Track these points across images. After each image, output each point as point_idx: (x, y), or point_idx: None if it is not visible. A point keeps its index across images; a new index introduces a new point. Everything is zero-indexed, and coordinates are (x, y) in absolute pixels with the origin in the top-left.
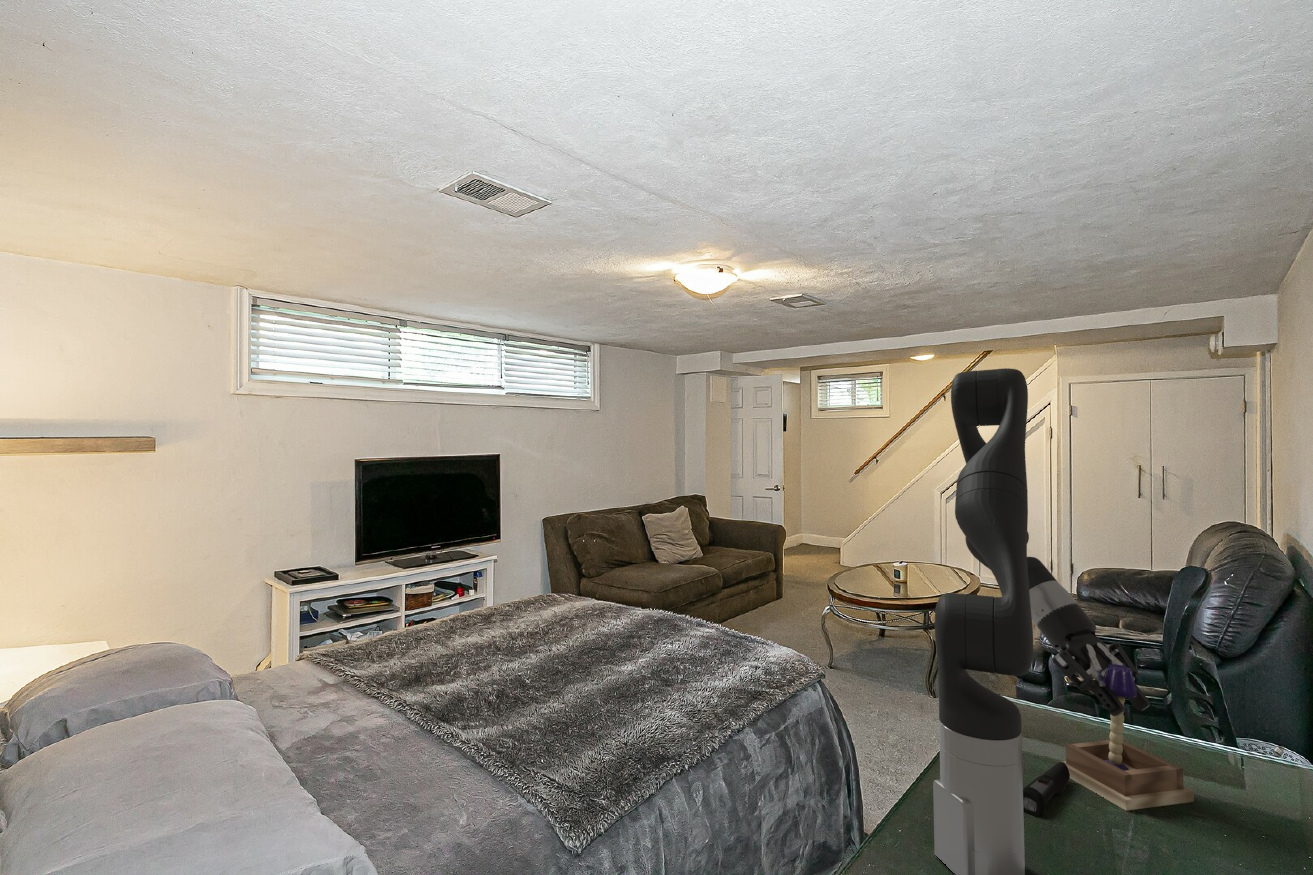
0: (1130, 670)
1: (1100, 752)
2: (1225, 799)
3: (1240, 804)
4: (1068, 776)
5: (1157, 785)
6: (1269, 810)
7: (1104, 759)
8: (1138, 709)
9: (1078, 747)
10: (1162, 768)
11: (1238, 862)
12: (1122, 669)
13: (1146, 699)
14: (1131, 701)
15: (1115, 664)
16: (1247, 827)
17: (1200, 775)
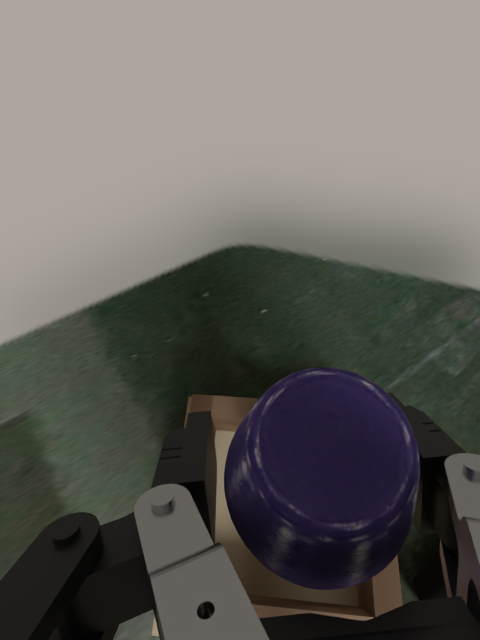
0: (298, 371)
1: (275, 602)
2: (118, 393)
3: (114, 371)
4: (428, 568)
5: None
6: (91, 343)
7: (259, 597)
8: (216, 461)
9: (376, 614)
10: (243, 409)
11: (323, 261)
12: (365, 384)
13: (193, 421)
14: (215, 491)
15: (311, 508)
16: (199, 316)
17: (31, 492)
